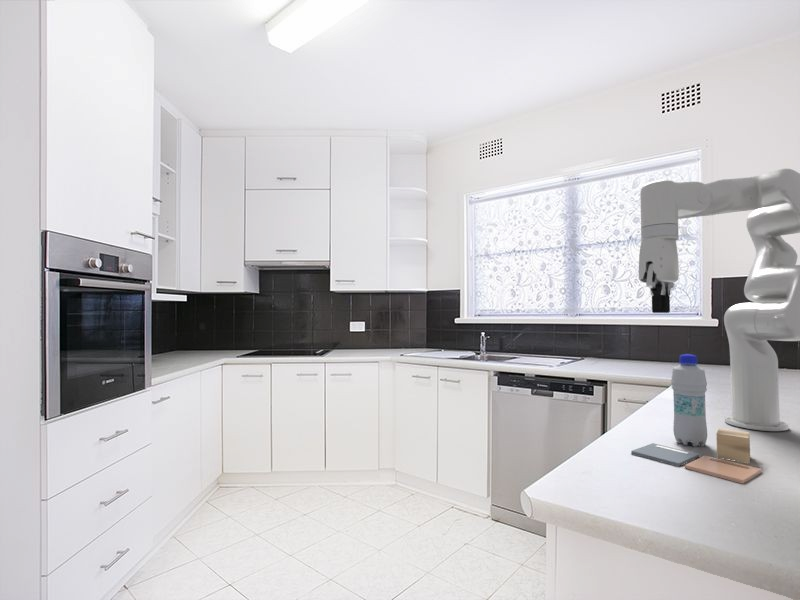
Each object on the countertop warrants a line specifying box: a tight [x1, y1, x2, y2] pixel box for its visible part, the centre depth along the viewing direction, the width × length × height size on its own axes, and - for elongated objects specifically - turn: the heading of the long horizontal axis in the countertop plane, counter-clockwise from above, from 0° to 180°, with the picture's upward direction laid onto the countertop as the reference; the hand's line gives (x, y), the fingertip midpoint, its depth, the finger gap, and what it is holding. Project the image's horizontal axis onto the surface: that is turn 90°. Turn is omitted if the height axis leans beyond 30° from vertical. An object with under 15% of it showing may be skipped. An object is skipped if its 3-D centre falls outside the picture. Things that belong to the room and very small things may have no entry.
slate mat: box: [630, 442, 700, 467], centre depth 88 cm, size 9×9×1 cm
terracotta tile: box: [684, 455, 763, 484], centre depth 79 cm, size 9×9×1 cm
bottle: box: [670, 353, 708, 447], centre depth 96 cm, size 7×7×20 cm
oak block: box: [716, 428, 751, 465], centre depth 86 cm, size 5×5×5 cm
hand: (660, 312), depth 100 cm, fingers closed
